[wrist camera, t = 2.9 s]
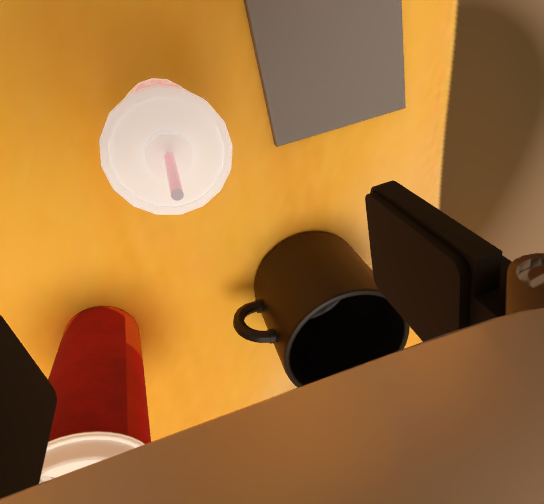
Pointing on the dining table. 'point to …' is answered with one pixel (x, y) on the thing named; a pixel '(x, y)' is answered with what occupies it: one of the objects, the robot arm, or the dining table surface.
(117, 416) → the paper cup
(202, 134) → the beverage cup
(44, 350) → the dining table surface
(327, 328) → the mug
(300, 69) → the plain gray mat
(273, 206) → the dining table surface
